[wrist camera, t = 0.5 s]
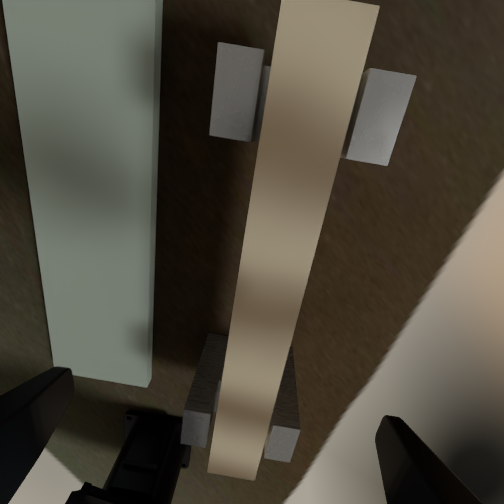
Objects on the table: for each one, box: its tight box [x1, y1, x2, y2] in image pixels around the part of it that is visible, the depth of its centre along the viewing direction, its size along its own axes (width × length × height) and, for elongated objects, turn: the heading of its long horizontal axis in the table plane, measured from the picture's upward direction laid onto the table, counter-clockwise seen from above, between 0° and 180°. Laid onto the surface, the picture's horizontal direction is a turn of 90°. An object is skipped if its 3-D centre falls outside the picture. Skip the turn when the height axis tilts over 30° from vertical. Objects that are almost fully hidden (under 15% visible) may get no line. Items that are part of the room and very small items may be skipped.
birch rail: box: [207, 0, 380, 481], centre depth 15 cm, size 24×3×3 cm, turn 171°
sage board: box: [2, 0, 163, 388], centre depth 20 cm, size 27×8×1 cm, turn 171°
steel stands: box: [181, 42, 417, 462], centre depth 17 cm, size 21×7×7 cm, turn 171°
